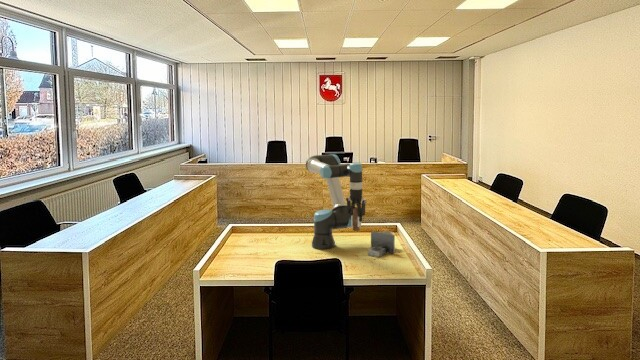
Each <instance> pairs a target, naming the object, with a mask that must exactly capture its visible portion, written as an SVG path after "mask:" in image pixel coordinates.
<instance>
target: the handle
mask: <svg viewBox="0 0 640 360" xmlns="http://www.w3.org/2000/svg"><path fill="white" fill-rule="evenodd" d="M358 216H359V214H358V208H357V206H355V207H354V208H353V226H352V231H353V232H358V231H360V227H358Z"/></svg>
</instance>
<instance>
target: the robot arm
mask: <svg viewBox="0 0 640 360" xmlns="http://www.w3.org/2000/svg"><path fill="white" fill-rule="evenodd" d="M305 168H306V169H307V171H308V172H310V173H311V174H312V173H314V174H315V173H316V174H319V175H320V177H321V178H322V179H325V181H326V184H327V189H328V191H329V192H328V193H329V196H330V201H331V204H332V208H331V209H329V208H328V209H319V210H317V211H316V212H314V214H313V227H314V229H313V230H314V231H313V232H314V234H313V238H312V241H311V247H312V248H313V249H317V250H330V249H332V248H335V247H336V241H335V239H334V236H333V231H334V230H339V229H340V230H341V229H348V228H349V229H350V228H353V208H354V207H357V208H358V214H359V216H358V227H359V228H360V227H362V221H363V217H364V216H366V203H367V199H364V197H363V164H362V163H360V162H352V163H344V164H341V160H340V158H339V156H338V155H337V154H334V153H333V154H332V153H329V154H318V155H312V156H310V157H309V158H307V160H306V161H305ZM346 177H349V196H348V197H346V198H345V197H344V193H343V189H342V185H341V181H340V178H346Z"/></svg>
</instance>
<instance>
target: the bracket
mask: <svg viewBox="0 0 640 360" xmlns="http://www.w3.org/2000/svg"><path fill="white" fill-rule="evenodd" d="M395 245H396V244H395V234H387V233H382V232H381V231H374V230H370V248H368V249H367V255H368V256H369V257H376V258H381V257H382V256H384V255H386V253H387V254H390V255H394V254H395V252H396V251H395Z"/></svg>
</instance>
